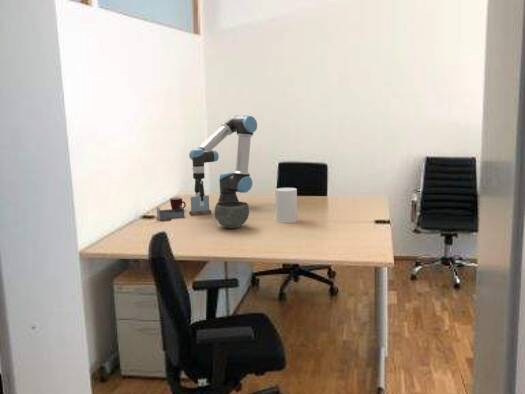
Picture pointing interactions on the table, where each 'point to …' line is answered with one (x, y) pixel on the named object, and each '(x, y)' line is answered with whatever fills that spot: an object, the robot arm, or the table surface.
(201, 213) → the stand
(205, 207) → the light blue slab
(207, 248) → the table surface
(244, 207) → the bowl
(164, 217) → the rack
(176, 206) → the mug
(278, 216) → the canister
